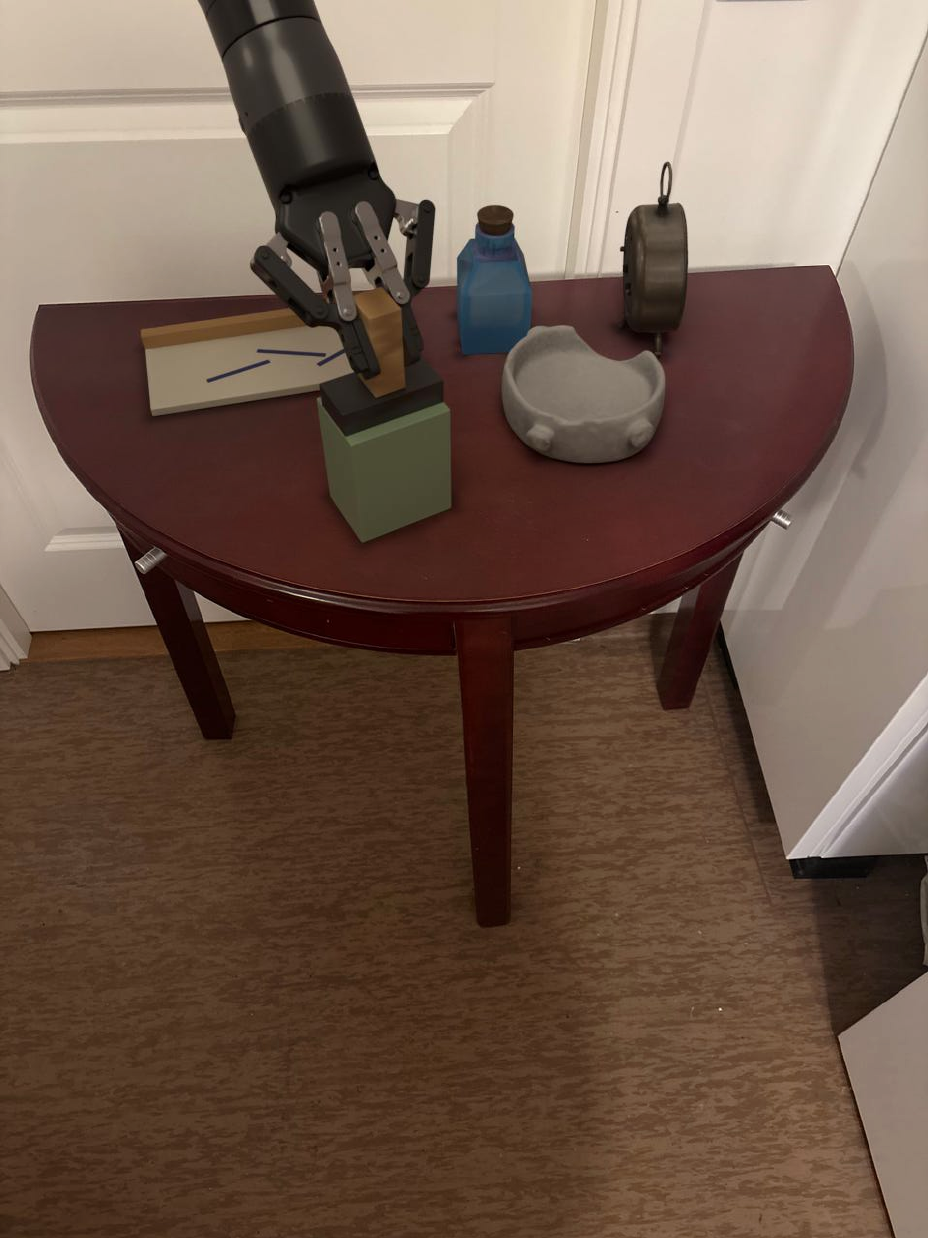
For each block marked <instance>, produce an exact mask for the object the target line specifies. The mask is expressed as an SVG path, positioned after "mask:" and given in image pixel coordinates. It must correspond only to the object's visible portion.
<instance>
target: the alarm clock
mask: <svg viewBox="0 0 928 1238" xmlns="http://www.w3.org/2000/svg"><path fill="white" fill-rule="evenodd" d="M666 170H667V172H668V179H667V181H668V182H667V191H666V194H664V188H665V187H664V183H665V181H664V180H665V174H666ZM660 173H661V174H660V180H659V195H660V196H658V197H657V203H653V204H651V203H650V204H640V205H637V206H635V207H634V208H633V209H632V211H631V212H630V213H629V215H628V217H627V221H626V225H625V231H624V237H623V238H624V240H623V245H621V246H620V247H619V252H621V253H623V254H622V298H623V318H622V319H621V321H620V322H619V324H618V327H617V328H618V329H622V327H624V325H625V324H626V323H627V325H628V326H629V328H630V329H631V330H632V331H634V332H636V333H652V334H653V344H654V350H655V351H654V352H653V354H654V355H655V356H656V358H660V357H661V356H662V353H661V349H662V345H663V334H664V333H666V332H673V333H674V332H677V330H678V329H679V328H680V326H681V324H682V320H683V317H684V311H685V306H686V299H687V291H688V277H689V276H688V275H689V240H688V239H689V235H688V234H689V232H688V223H687V222H688V221H687V217H686V213H685V212H686V211H685V208H684V207H683V204H681V203H680V202H676V203H675V202H674V203H670V196H671V193H672V187H673V186H672V185H673V169H672V165H671V162H670V161H666V162H665V161H664V163H663V165H662V169H661V172H660Z"/></svg>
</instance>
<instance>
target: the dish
mask: <svg viewBox="0 0 928 1238" xmlns="http://www.w3.org/2000/svg"><path fill="white" fill-rule="evenodd" d="M666 383H667V382H666V374H665V370H664V367H663V365H662V364H661V362H660V361H659V360H658V357H656V356H655V355H654V352H652V351H650V350H648V349H646V350H643V351H642V352H641V353H639V354H637V355H636V356H634V357H632V358H630V359H625V360H624V359H623V360H616V359H611V358H608V357H606V356H604V355H601V354H600V353H598V352H596V351H595V349H593V348H592V347H591V346H590V345H588V343H586V341H585V340H583V339H582V337H580V335H579V334H578V333H577V331H576V329H575V327H574V326H571V325H565V324H562V325H561V324H560V325H553V326H547V325H536V326H534V327H532V328H530V330H529V331H528V333H527V336H526V337H524V338H523V339H521V340H520V341H519V342H518V343H517V344H516V345H515V346H514V348H513V349H511V351H510V352H508V353H507V356H506V359H505V362H504V365H503V370H502V376H501V401H502V407H503V412H504V415H505V418H506V421H507V423H508V424H509V426H510V428H511V430H513V432H514V433H515V435H516V436H517V437H518V438H519V439H520V440H521V441H522V442H523V443H524V444H525V445H526V446H528V447H529V448H531V449H532V450H534V451H535V452H537V453H539V454H541V455H543V456H546V457H548V458H550V459H554V460H559V461H563V462H568V463H569V462H570V463H576V464H601V463H611V462H617V461H620V460H623V459H626V458H629V457H632V456H634V455H636V454H637V453H639V452H640V451H642V450H643V449H644V448H645V447H646V446H647V445H648V444H649V443H650V441H651V440H652V439H653V436H654V435H655V433H656V431H657V428H658V427H659V425H660V420H661V418H662V414H663V411H664V405H665V399H666V388H667V384H666Z"/></svg>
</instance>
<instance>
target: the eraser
mask: <svg viewBox="0 0 928 1238" xmlns="http://www.w3.org/2000/svg"><path fill="white" fill-rule="evenodd" d="M353 297H354V301H355V305H356V309H357V315H356V316H357V319H358V320H361V319H362V321H363V323H364V326H365V329H366V332H367V334H368V337H369V340H370V342H371V344H372V346H373V349H374V352H375V355H376V357H377V360H378V363H379V365H380V369H381V374H379V375H378V376H377V377H375V378H372V379H369V380H365V379H364V378H363V376H362V373H359V374H356V373H355V372H353V373H350V374H347V375H344V376H341V377H338V378H335V379H332V380H329V381H326V382H323V383H320V384H319V387H320V390H319V393H320V397H321V401H322V406H323V407H324V409H325V410H326V412H327V413H328V414H329V416H330V417H331V418H332V420H333V421H334V422H335V424H336V425H337V426H338V428H339V429H340V431H341V432H342V433H343V435H344V436H345V437H347V436H350V435H352V434H355V433H358V432H361V431H364V430H366V429H369V428H372V427H375V426H378V425H380V424H383V423H386V422H389V421H392V420H394V419H397V418H400V417H403V416H406V415H408V414H411V413H414V412H417V411H420V410H422V409H425V408H428V407H431V406H434V405H436V404H439V403H442V402H444V403H445V384H444V383H445V382H444V381H445V380H444V378H443V377H442V376H441V375H440V374H439V372H437V370H436V369H435V368H434V367H433V366H432V365H431V363H430V362H428V360H427V359H426V358H425V357H424V356H423V354H422V352H420V361H418V362H417V363H415V364H413V365H410V366H407V367H404V352H403V334H402V333H403V332H402V313H401V308H400V307H399V306H398V305H397V304H396V302H395V301H394V300H393V299H392V298H391V297H390V296H389V295H388V294H387V292H386V291H385V290H384V289H383V288H382V287H379V288H376V289H375V288H373V289H369V290H367V291H362V292H360V293H357V294H353Z"/></svg>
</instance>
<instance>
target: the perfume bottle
mask: <svg viewBox="0 0 928 1238" xmlns="http://www.w3.org/2000/svg"><path fill="white" fill-rule="evenodd" d="M514 216H515V215H514V211H513V210H512V209H511V208H509V207H507V206H505V205H500V204H490V205H486V206H482V207H481V208H479V210H478V211H477V212H476V217H477V223H476V224H475V228H474V238H469V239H468V241H467V242H466V244H465V245H464V246H463V248H462V250H461V251H460V253H459V254H458V255H457V257H456V310H457V311H456V317H457V318H456V319H457V325H458V333H459V339H460V347H461V355H463V356H464V355H467V356H468V355H485V354H487V355H488V354H504V353H505V354H506V353H507V354H509V352H510V351H511V349H513V348H514V346H515V345H516V344H517V343H518V342H519V341H520V340H521V339H523V338H524V337H526V336H527V333H528V331H529V330H530V329H531V319H532V318H531V317H532V301H533V291H532V286H531V282H530V276H529V273H528V267H527V263H526V258H525V254H524V252H523V250H522V249H521V248H522V247H520V244H519V243H518V241H517V239H516V237H515V234H516V233H515V232H516V226H515V224H514V223H513V220H514Z"/></svg>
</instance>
